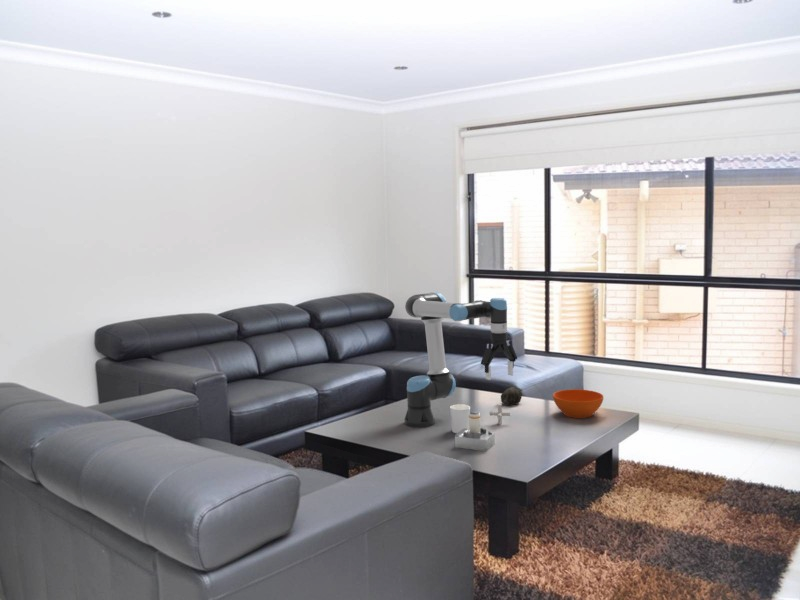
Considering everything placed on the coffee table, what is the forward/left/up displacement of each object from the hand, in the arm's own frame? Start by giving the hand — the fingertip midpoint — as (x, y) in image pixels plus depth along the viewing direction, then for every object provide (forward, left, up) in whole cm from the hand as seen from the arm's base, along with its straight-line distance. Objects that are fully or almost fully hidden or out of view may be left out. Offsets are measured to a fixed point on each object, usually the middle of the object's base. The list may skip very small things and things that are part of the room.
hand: (499, 377), depth 334 cm
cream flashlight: (-7, -15, -24) cm, 29 cm away
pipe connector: (-7, +21, -29) cm, 36 cm away
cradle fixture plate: (-7, -15, -29) cm, 33 cm away
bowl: (+25, +51, -29) cm, 64 cm away
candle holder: (-21, +3, -29) cm, 36 cm away
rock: (-13, +59, -29) cm, 67 cm away
